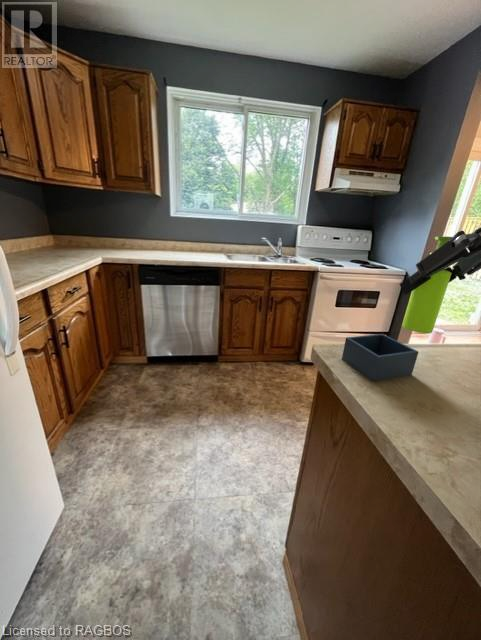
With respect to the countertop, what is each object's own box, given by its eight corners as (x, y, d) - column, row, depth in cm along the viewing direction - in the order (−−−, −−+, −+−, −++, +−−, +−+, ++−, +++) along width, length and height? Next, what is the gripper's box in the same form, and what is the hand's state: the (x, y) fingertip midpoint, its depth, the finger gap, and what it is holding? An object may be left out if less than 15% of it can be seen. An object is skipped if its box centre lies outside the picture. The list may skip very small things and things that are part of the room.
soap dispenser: (441, 336, 57) (475, 238, 51) (405, 330, 59) (432, 235, 53) (432, 327, 63) (462, 237, 56) (399, 322, 65) (424, 235, 58)
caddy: (377, 354, 80) (382, 333, 77) (411, 374, 69) (418, 351, 67) (341, 359, 76) (345, 337, 73) (372, 381, 65) (378, 357, 63)
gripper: (502, 226, 37) (386, 305, 57) (590, 230, 42) (454, 302, 62) (475, 187, 40) (374, 275, 60) (560, 195, 45) (440, 274, 65)
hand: (415, 288), depth 61 cm, fingers closed on soap dispenser, 6 cm apart
